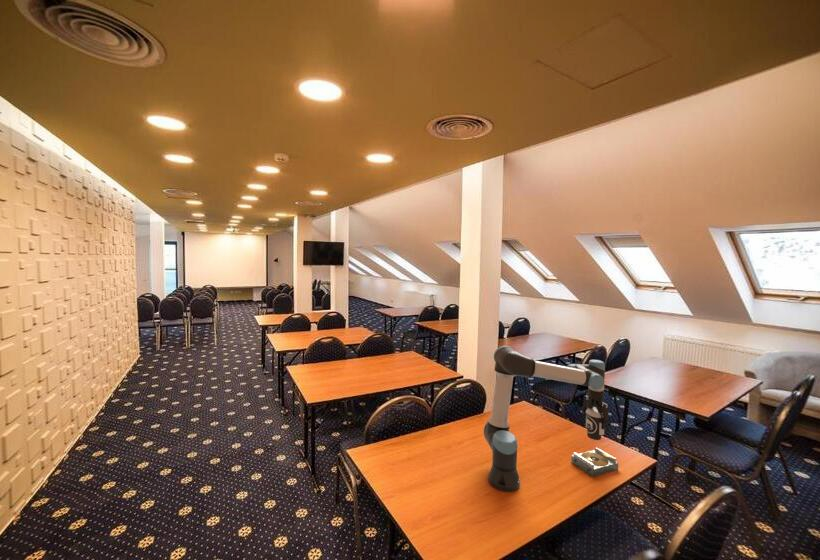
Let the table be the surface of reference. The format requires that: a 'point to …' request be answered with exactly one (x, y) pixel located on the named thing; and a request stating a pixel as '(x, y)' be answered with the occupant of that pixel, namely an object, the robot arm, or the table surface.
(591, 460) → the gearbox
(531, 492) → the table surface
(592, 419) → the coffee cup
